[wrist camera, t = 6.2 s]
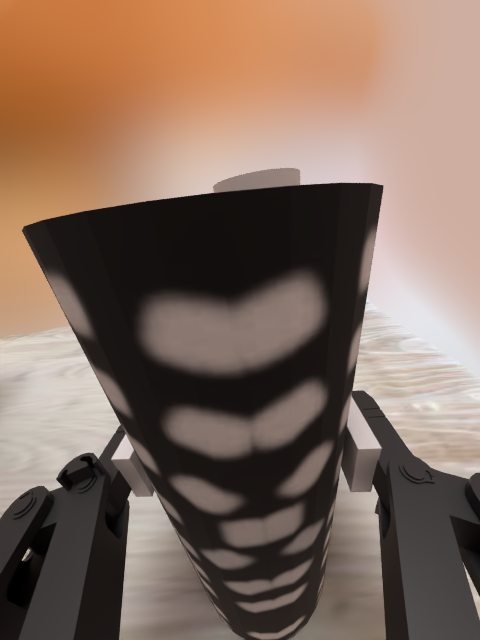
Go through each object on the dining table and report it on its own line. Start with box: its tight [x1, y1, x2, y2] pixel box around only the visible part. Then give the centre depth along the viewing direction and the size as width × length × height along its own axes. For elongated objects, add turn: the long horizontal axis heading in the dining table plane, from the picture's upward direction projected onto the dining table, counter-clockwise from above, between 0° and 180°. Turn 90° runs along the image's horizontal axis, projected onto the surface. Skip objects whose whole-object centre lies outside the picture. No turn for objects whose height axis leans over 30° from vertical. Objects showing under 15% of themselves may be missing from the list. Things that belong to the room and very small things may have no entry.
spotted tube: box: [22, 183, 383, 640], centre depth 10 cm, size 8×8×20 cm
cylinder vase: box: [213, 168, 300, 193], centre depth 35 cm, size 12×12×25 cm
